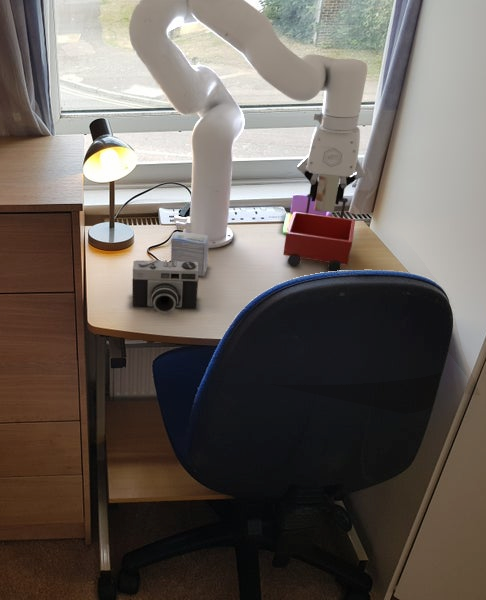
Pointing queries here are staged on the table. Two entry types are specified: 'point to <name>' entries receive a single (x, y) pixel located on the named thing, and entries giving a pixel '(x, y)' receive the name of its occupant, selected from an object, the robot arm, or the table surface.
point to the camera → (165, 285)
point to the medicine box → (190, 249)
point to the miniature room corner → (301, 209)
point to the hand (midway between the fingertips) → (325, 199)
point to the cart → (319, 238)
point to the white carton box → (326, 193)
